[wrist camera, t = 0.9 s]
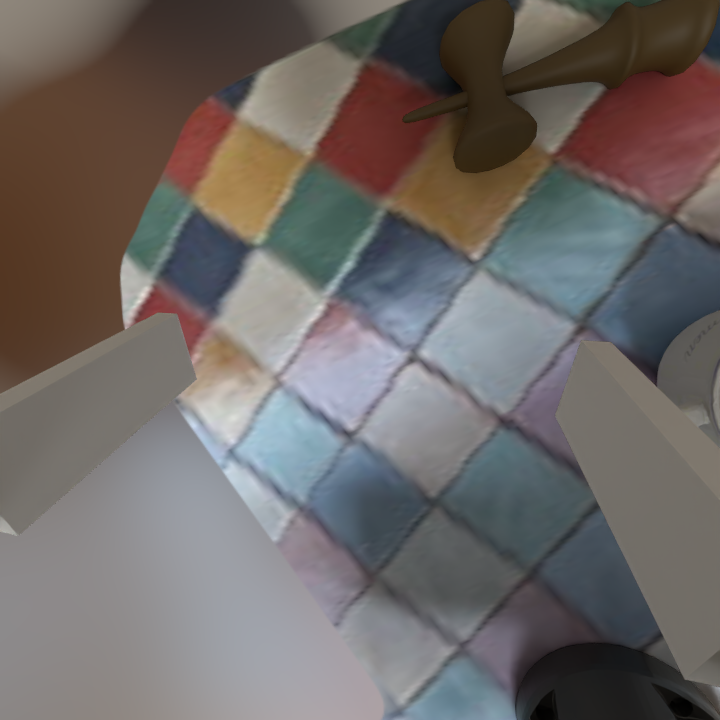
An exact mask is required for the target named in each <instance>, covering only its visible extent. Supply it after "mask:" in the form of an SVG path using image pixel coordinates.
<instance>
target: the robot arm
mask: <svg viewBox="0 0 720 720" xmlns="http://www.w3.org/2000/svg"><path fill="white" fill-rule="evenodd" d="M196 379H197V378H196V375H195V371H194V368H193V365H192V362H191V358H190V355H189V352H188V348H187V345H186V342H185V339H184V335H183V332H182V329H181V325H180V322H179V319H178V316H177V314H170V313H157V314H155V315H153V316H151V317H149V318H147V319H145V320H143V321H141V322H139V323H137V324H135V325H133V326H131V327H129V328H127V329H126V330H124V331H122V332H120V333H118V334H116V335H114V336H112V337H110V338H108V339H106V340H104V341H102V342H100V343H98V344H96V345H95V346H93V347H91V348H89V349H87V350H85V351H83V352H81V353H79V354H77V355H75V356H73V357H71V358H69V359H67V360H65V361H63V362H61V363H59V364H58V365H56V366H54V367H52V368H50V369H48V370H46V371H44V372H42V373H40V374H38V375H36V376H34V377H33V378H30V379H28V380H26V381H24V382H23V383H21V384H19V385H17V386H15V387H13V388H11V389H9V390H7V391H5V392H3V393H1V394H0V532H4V533H8V534H13V535H17V536H18V535H20V534H21V533H22V532H23V531H24V530H25V529H27V528H28V527H29V526H30V525H31V524H32V523H33V522H34V521H36V520H37V519H38V518H39V517H40V516H41V515H42V514H44V513H45V512H46V511H47V510H48V509H49V508H50V507H52V506H53V505H54V504H55V503H56V502H57V501H58V500H60V499H61V498H62V497H63V496H64V495H65V494H67V493H68V492H69V491H70V490H71V489H72V488H73V487H74V486H76V485H77V484H78V483H79V482H80V481H81V480H82V479H83V478H85V477H86V476H87V475H88V474H89V473H90V472H92V470H94V469H95V468H96V467H97V466H98V465H100V464H101V463H102V462H103V461H104V460H105V459H106V458H108V457H109V456H110V455H111V454H112V453H113V452H114V451H115V450H117V449H118V448H119V447H120V446H121V445H122V444H123V443H125V442H126V441H127V440H128V439H129V438H130V437H131V436H133V435H134V434H135V433H136V432H137V431H138V430H139V429H141V428H142V427H143V426H144V425H145V424H146V423H147V422H148V421H150V420H151V419H152V418H153V417H154V416H155V415H157V414H158V413H159V412H160V411H161V410H162V409H163V408H164V407H166V406H167V405H168V404H169V403H170V402H171V401H172V400H174V399H175V398H176V397H177V396H178V395H179V394H180V393H182V392H183V391H184V390H185V389H186V388H187V387H188V386H190V385H191V384H192V383H193V382H194V381H195V380H196ZM555 417H556V419H557V421H558V423H559V425H560V427H561V429H562V431H563V433H564V435H565V437H566V439H567V441H568V443H569V445H570V447H571V450H572V452H573V454H574V456H575V458H576V460H577V462H578V464H579V466H580V468H581V470H582V472H583V474H584V476H585V478H586V480H587V482H588V484H589V486H590V488H591V490H592V492H593V494H594V496H595V498H596V500H597V502H598V504H599V507H600V509H601V511H602V513H603V515H604V517H605V519H606V521H607V523H608V525H609V527H610V529H611V531H612V533H613V535H614V537H615V539H616V541H617V543H618V545H619V547H620V549H621V551H622V553H623V555H624V557H625V559H626V561H627V563H628V566H629V568H630V570H631V572H632V574H633V576H634V578H635V580H636V582H637V584H638V586H639V588H640V590H641V592H642V594H643V596H644V598H645V600H646V602H647V604H648V606H649V608H650V610H651V612H652V614H653V616H654V618H655V620H656V623H657V625H658V627H659V629H660V631H661V633H662V635H663V637H664V639H665V641H666V643H667V645H668V647H669V649H670V651H671V653H672V655H673V657H674V659H675V661H676V663H677V665H678V667H679V669H680V671H681V673H682V674H680V673H679V672H678V671H676V670H675V669H673V668H672V667H670V666H668V665H667V664H665V663H663V662H661V661H659V660H657V659H656V658H653V657H651V656H649V655H647V654H644V653H641V652H639V651H636V650H632V649H629V648H625V647H621V646H616V645H609V644H580V645H574V646H569V647H565V648H562V649H559V650H557V651H555V652H552V653H550V654H549V655H547V656H545V657H544V658H542V659H541V660H540V661H538V662H537V663H536V664H535V665H534V666H533V667H532V668H531V669H530V671H529V672H528V673H527V675H526V676H525V678H524V680H523V682H522V684H521V686H520V689H519V692H518V696H517V703H516V716H517V720H720V715H719V714H718V713H717V711H716V710H715V709H714V707H713V706H712V704H711V703H710V702H709V700H708V699H707V698H706V697H705V696H704V695H703V693H702V692H701V691H700V690H699V689H698V688H697V687H696V686H695V685H694V684H693V683H691V682H690V681H694V682H699V683H703V684H708V685H713V686H717V687H720V448H719V447H718V446H717V445H716V444H715V443H714V442H713V441H712V440H711V439H710V438H709V437H708V436H707V435H706V434H705V433H704V432H703V431H702V430H701V429H700V428H698V427H697V426H696V425H695V424H694V423H693V422H692V421H691V420H690V419H689V418H688V417H687V416H686V415H685V414H684V413H683V412H682V411H681V410H680V409H679V408H678V407H677V406H676V405H675V404H674V403H673V402H672V401H671V400H670V399H669V398H668V397H667V396H666V395H665V394H664V393H663V392H661V391H660V390H659V389H658V388H657V387H656V386H655V385H654V384H653V383H652V382H651V381H650V380H649V379H648V378H647V377H646V376H645V375H644V374H643V373H642V372H641V371H640V370H639V369H638V368H637V367H636V366H635V365H634V364H633V363H632V362H631V361H630V360H629V359H628V358H627V357H626V356H624V355H623V354H622V353H621V352H620V351H619V350H618V349H617V348H616V347H615V346H614V345H613V344H612V343H611V342H601V341H586V340H581V342H580V345H579V348H578V351H577V354H576V356H575V359H574V362H573V365H572V368H571V371H570V374H569V377H568V379H567V382H566V385H565V388H564V391H563V394H562V397H561V400H560V402H559V405H558V408H557V411H556V414H555Z"/></svg>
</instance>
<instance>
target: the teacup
mask: <svg viewBox="0 0 720 720" xmlns="http://www.w3.org/2000/svg"><path fill="white" fill-rule="evenodd" d="M657 388H658V389H659V390H660V391H661V392H663V393H664V394H665V395H666V396H667V397H668V398H669V399H670V400H671V401H672V402H673V403H674V404H675V405H676V406H677V407H678V408H679V409H680V410H681V411H682V412H683V413H684V414H685V415H686V416H687V417H688V418H689V419H690V420H691V421H692V422H693V423H694V424H695V425H696V426H697V427H698V428H700V429H701V430H702V431H703V432H704V433H705V434H706V435H707V436H708V437H709V438H710V439H711V440H712V441H713V442H714V443H715V444H716V445H717V446H718V447H719V448H720V310H719V311H716V312H714V313H711V314H709V315H706V316H705V317H703V318H701V319H699V320H697V321H696V322H694V323H692V324H691V325H689V326H688V327H687V328H685V329H684V330H683V331H682V332H681V333H680V334H679V335H678V336H676V337H675V339H674V340H673V341H672V342H671V344H670V345H669V346H668V347H667V349H666V351H665V353H664V354H663V357H662V359H661V362H660V364H659V368H658V374H657Z"/></svg>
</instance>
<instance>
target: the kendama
mask: <svg viewBox="0 0 720 720" xmlns="http://www.w3.org/2000/svg"><path fill="white" fill-rule="evenodd" d="M719 6H720V3H719V0H661V1H659V2H656V3H654V4H651V5H647V6H643V7H637V6H634V5H633V4H631V3H630V2H626V3H624V4H622V5H621V6H619V7H618V8H617V9H616V10H615V11H614V13H613V14H612V16H611V17H610V19H609V20H608V21H607V22H606V23H605V24H604V25H603V26H602V27H601V28H599V29H598V30H596V31H595V32H593V33H591V34H590V35H588V36H586V37H584V38H582V39H581V40H579V41H577V42H575V43H573V44H571V45H569V46H567V47H565V48H563V49H561V50H559V51H557V52H555V53H553V54H551V55H549V56H547V57H545V58H543V59H541V60H539V61H537V62H535V63H532V64H530V65H528V66H526V67H523V68H521V69H519V70H517V71H514V72H512V73H510V74H507V75H505V76H503V74H502V65H503V61H504V57H505V54H506V51H507V48H508V46H509V43H510V40H511V37H512V34H513V30H514V12H513V10H512V8H511V6H510V5H509V3H508V1H506V0H485V1H480V2H478V3H476V4H474V5H472V6H470V7H469V8H467V9H465V10H463V11H462V12H461V13H460V14H459V15H458V16H457V17H456V18H455V19H453V20H452V21H451V22H450V23H449V25H448V27H447V29H446V31H445V33H444V35H443V36H442V40H441V46H440V52H439V55H440V60H441V65H442V67H443V69H444V70H445V71H446V72H447V73H448V74H449V75H450V76H451V77H452V78H453V79H454V80H455V81H456V82H457V83H458V84H459V85H460V86H461V88H462V90H463V92H461V93H459V94H456V95H453V96H451V97H448V98H445V99H443V100H440V101H437V102H435V103H432V104H429V105H427V106H424V107H422V108H419V109H417V110H414V111H412V112H410V113H408V114H406V115H405V116H404V117H403V122H405V123H410V122H415V121H419V120H423V119H427V118H430V117H434V116H437V115H441V114H444V113H448V112H451V111H455V110H458V109H462V108H465V107H467V109H468V118H467V122H466V124H465V127H464V129H463V131H462V133H461V136H460V138H459V140H458V143H457V146H456V149H455V152H454V156H453V158H454V162H455V166H456V168H457V169H459V170H460V171H462V172H471V173H477V172H483V171H488V170H491V169H494V168H497V167H500V166H502V165H504V164H506V163H508V162H510V161H512V160H514V159H515V158H517V157H518V156H519V155H520V154H521V153H523V152H524V151H525V150H526V149H527V148H528V147H529V146H530V145H531V143H532V142H533V140H534V139H535V137H536V132H537V122H536V121H535V120H534V118H533V117H532V116H531V115H530V113H529V112H527V111H526V110H525V109H523V108H522V107H520V106H519V105H517V104H516V103H514V102H513V101H512V100H510V99H509V98H508V97H507V96H510V95H514V94H518V93H523V92H527V91H532V90H537V89H543V88H548V87H554V86H560V85H567V84H573V83H582V82H599V83H602V84H604V85H605V86H606V87H607V88H608V89H613V88H617V87H619V86H620V85H621V84H622V83H623V82H624V81H625V80H626V79H627V78H628V77H630V76H632V75H633V74H637V73H641V72H647V71H659V72H661V73H663V74H664V75H665V76H669V77H670V76H674V75H677V74H680V73H683V72H684V71H685V70H686V69H687V68H689V67H690V66H691V65H692V64H693V63H694V62H695V61H696V60H697V58H698V57H699V55H700V54H701V53H702V51H703V50H704V48H705V47H706V45H707V44H708V41H709V39H710V37H711V34H712V32H713V30H714V27H715V25H716V20H717V15H718V10H719Z"/></svg>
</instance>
